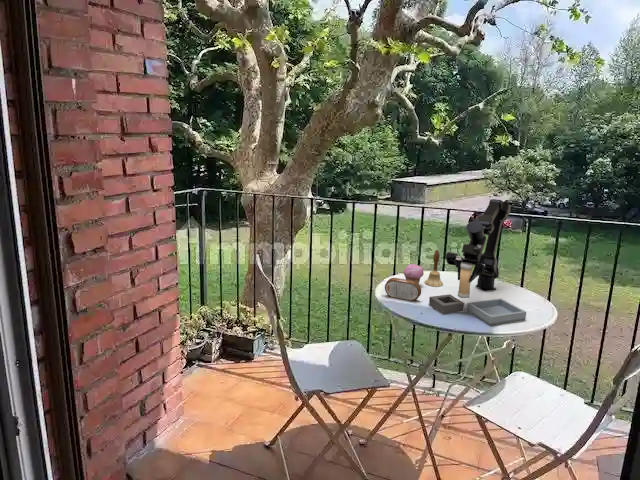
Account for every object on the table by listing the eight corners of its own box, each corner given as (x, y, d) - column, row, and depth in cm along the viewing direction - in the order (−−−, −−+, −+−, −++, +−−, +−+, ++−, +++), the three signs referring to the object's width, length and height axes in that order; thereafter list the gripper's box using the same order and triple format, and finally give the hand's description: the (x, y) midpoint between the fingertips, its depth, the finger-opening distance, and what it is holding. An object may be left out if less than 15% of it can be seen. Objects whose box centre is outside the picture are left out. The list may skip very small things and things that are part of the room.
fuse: (463, 293, 183) (466, 261, 179) (471, 296, 179) (475, 264, 176) (455, 295, 181) (458, 263, 177) (463, 299, 177) (467, 266, 174)
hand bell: (446, 283, 213) (449, 249, 209) (438, 288, 206) (441, 253, 202) (429, 279, 218) (432, 246, 213) (421, 284, 211) (423, 250, 207)
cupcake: (405, 281, 214) (407, 260, 212) (424, 284, 211) (426, 263, 208) (400, 287, 206) (401, 266, 204) (419, 290, 203) (421, 269, 200)
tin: (420, 300, 192) (422, 281, 190) (419, 303, 189) (420, 283, 187) (385, 294, 198) (386, 275, 196) (383, 297, 195) (384, 278, 193)
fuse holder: (449, 302, 191) (450, 294, 190) (463, 311, 182) (464, 303, 181) (428, 304, 188) (429, 296, 187) (442, 314, 179) (443, 305, 178)
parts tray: (499, 306, 187) (500, 298, 186) (525, 320, 175) (526, 311, 174) (466, 311, 182) (467, 302, 181) (490, 326, 169) (491, 317, 168)
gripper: (448, 232, 182) (436, 265, 176) (498, 239, 172) (486, 275, 166) (453, 247, 190) (442, 279, 184) (501, 255, 180) (490, 290, 174)
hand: (464, 281), depth 177 cm, fingers closed on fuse, 4 cm apart
